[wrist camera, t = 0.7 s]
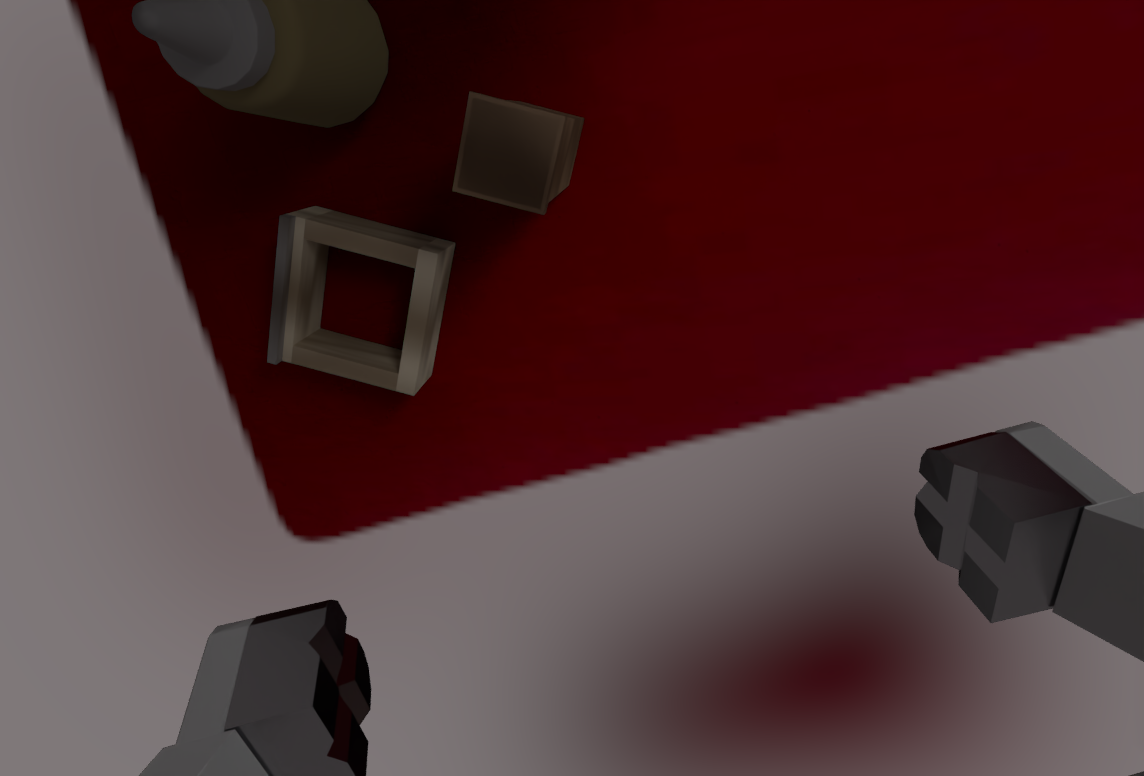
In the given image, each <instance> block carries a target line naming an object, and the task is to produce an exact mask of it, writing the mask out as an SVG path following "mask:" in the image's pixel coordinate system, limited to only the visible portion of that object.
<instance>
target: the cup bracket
mask: <svg viewBox="0 0 1144 776" xmlns="http://www.w3.org/2000/svg"><path fill="white" fill-rule="evenodd" d="M329 246H333V247H337V248H340V249H344V250H348V251H352V252H356V253H359V254H363V255H367V256H371V257H374V258H378V259H382V260H386V261H390V262H393V263H397V264H401V265H405V266H408V267H412V268H416V269H415V275H414V281H413V287H412V294H411V300H410V306H409V312H408V318H407V325H406V331H405V337H404V343H403V350H399V349H395V348H392V347H388V346H384V345H380V344H377V343H373V342H369V341H365V340H362V339H358V338H354V337H350V336H347V335H343V334H339V333H335V332H332V331H328V330H324V329H320V322H321V314H322V305H323V296H324V287H325V278H326V270H327V261H328V252H329ZM454 248H455V243H454V242H450V241H446V240H443V239H439V238H435V237H431V236H427V235H424V234H420V233H416V232H412V231H409V230H405V229H401V228H397V227H393V226H390V225H386V224H382V223H378V222H375V221H371V220H367V219H363V218H359V217H356V216H352V215H348V214H344V213H340V212H337V211H333V210H329V209H325V208H322V207H318V206H313V207H309V208H306V209H302V210H299V211H295V212H291V213H288V214H284V215H280V217H279V229H278V241H277V252H276V264H275V275H274V287H273V299H272V310H271V322H270V333H269V345H268V357H267V362H268V363H272V364H278V363H279V362H281V361H286V362H290V363H293V364H297V365H301V366H305V367H308V368H312V369H316V370H319V371H323V372H327V373H331V374H334V375H338V376H342V377H346V378H349V379H353V380H357V381H361V382H364V383H368V384H372V385H376V386H379V387H383V388H387V389H391V390H394V391H398V392H402V393H406V394H409V395H413V396H414V395H415V394H416V393H417V391H418V390H419V389H420V388H421V387H422V386H423V384H424V383H425V382H426V381H427V380H428V378H429V377H430V376H431V375H432V370H433V365H434V359H435V353H436V348H437V342H438V337H439V331H440V326H441V320H442V314H443V309H444V303H445V298H446V292H447V287H448V281H449V276H450V270H451V264H452V259H453V253H454Z"/></svg>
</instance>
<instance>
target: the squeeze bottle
mask: <svg viewBox="0 0 1144 776" xmlns="http://www.w3.org/2000/svg"><path fill="white" fill-rule="evenodd" d="M132 21H133V23H134V25H135V27H136V29H137V30H138V31H139V32H140V33H142V34H143V35H145V36H147V37H149V38H151V39H153V40H155V41H157V42H158V45H159V47H160V50H161V52H162V55H163V57H164V58H165V59H166V61H167V62H168V63H169V64H170V65H171V67H172V68H173V69H174V70H175V72H176V73H177V74H178V75H179V76H181V77H182V78H184V79H186V80H187V81H189V82H191V83H192V84H194V85H195V86H197V88H198V89H199V90H200V91H201V93H202V94H204V95H205V96H207V97H209V98H210V99H212V100H214V101H215V102H217V103H218V104H220V105H222V106H223V107H225V108H227V109H231V110H236V111H242V112H247V113H252V114H257V115H262V116H267V117H272V118H277V119H282V120H287V121H293V122H298V123H303V124H309V125H315V126H321V127H327V128H329V127H333V126H336V125H340V124H343V123H347V122H351V121H354V120H355V119H356V118H357V117H358V116H359V115H360V114H362V113H363V112H364V111H365V110H366V109H367V108H368V107H369V106H371V105H372V104H373V103H374V101H375V99H376V97H377V95H378V93H379V91H380V89H381V87H382V84H383V82H384V80H385V78H386V75H387V73H388V58H389V51H388V48H387V44H386V41H385V38H384V34H383V31H382V28H381V25H380V21H379V18H378V15H377V13H376V12H375V11H374V9H373V8H372V7H371V5H370V4H369V2H368V1H367V0H148V1H142V2H139V3H137V4H136V5H135V6H134V8H133V11H132Z"/></svg>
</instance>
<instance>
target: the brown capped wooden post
mask: <svg viewBox="0 0 1144 776" xmlns="http://www.w3.org/2000/svg"><path fill="white" fill-rule="evenodd" d="M583 122H584V118H582V117H578V116H574V115H570V114H566V113H563V112H559V111H555V110H551V109H547V108H544V107H540V106H536V105H532V104H528V103H524V102H521V101H510V100H502V99H498V98H494V97H491V96H487V95H483V94H479V93H475V92H469V97H468V103H467V109H466V115H465V120H464V126H463V132H462V138H461V143H460V149H459V155H458V161H457V166H456V172H455V178H454V184H453V189H452V191H454V192H458V193H462V194H466V195H470V196H473V197H477V198H481V199H485V200H489V201H492V202H496V203H500V204H504V205H508V206H511V207H515V208H519V209H523V210H527V211H530V212H534V213H538V214H542V215H544V214H545V213H546V210H547V206H548V203H549V202H550V201H551V200H552V199H553V198H555V197H556V196H557V195H558V194H559V193H560V192H562V191H563V190H564V189H565V188H566V187H567V186H569V182H570V178H571V174H572V169H573V165H574V161H575V157H576V152H577V148H578V144H579V139H580V135H581V131H582V126H583Z"/></svg>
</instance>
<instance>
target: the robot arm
mask: <svg viewBox="0 0 1144 776" xmlns="http://www.w3.org/2000/svg"><path fill="white" fill-rule="evenodd" d="M919 472H920V473H921V474H922V476H923V477H924V478H925V479H926V480H927V481H928V482H927V483H926V484H925V485H924V487H923V488H922V489H921V490H920V492H919V493H918V494H917V495H916V501H915V513H914V515H915V518H916V522H917V526H918V530H919V533H920V535H921V537H922V538H923V540H924V542H925V544H926V546H927V548H928V549H929V550H930V551H931V553H932V554H933V555H934V556H935V558H936V559H937V560H938V561H940V562H942V563H945V564H947V565H949V566H951V567H953V568H956V569H958V570H959V586H960V587H961V589H962V590H963V591H964V592H965V593H966V594H967V596H968V597H969V598H970V599H971V600H972V602H973V603H974V604H975V605H976V606H977V607H978V609H979V610H980V611H981V612H982V613H983V614H984V616H985V617H986V618H987V619H988V620H989V621H990V623H994V622H998V621H1002V620H1006V619H1010V618H1015V617H1019V616H1023V615H1027V614H1031V613H1035V612H1039V611H1044V610H1048V609H1052V608H1053V612H1054V613H1056V614H1058V615H1059V616H1061V617H1063V618H1065V619H1067V620H1068V621H1070V622H1072V623H1074V624H1076V625H1077V626H1079V627H1081V628H1083V629H1085V630H1087V631H1089V632H1090V633H1092V634H1094V635H1096V636H1098V637H1099V638H1101V639H1103V640H1105V641H1107V642H1109V643H1110V644H1112V645H1114V646H1116V647H1118V648H1120V649H1121V650H1123V651H1125V652H1127V653H1129V654H1130V655H1132V656H1134V657H1136V658H1138V659H1140V660H1142V661H1143V662H1144V492H1141V493H1137V494H1133V493H1131V492H1130V491H1129V490H1128V489H1126V488H1125V487H1124V486H1122V485H1121V484H1120V483H1119V482H1117V481H1116V480H1115V479H1113V478H1112V477H1111V476H1109V475H1108V474H1107V473H1106V472H1104V471H1103V470H1102V469H1100V468H1099V467H1098V466H1096V465H1095V464H1094V463H1093V462H1091V461H1090V460H1089V459H1087V458H1086V457H1085V456H1083V455H1082V454H1081V453H1080V452H1078V451H1077V450H1076V449H1074V448H1073V447H1072V446H1070V445H1069V444H1068V443H1067V442H1065V441H1064V440H1063V439H1061V438H1060V437H1059V436H1057V435H1056V434H1055V433H1054V432H1052V431H1051V430H1050V429H1048V428H1047V427H1045V426H1044V425H1042V424H1039V423H1036V422H1032V421H1031V422H1028V423H1024V424H1020V425H1016V426H1013V427H1009V428H1005V429H1001V430H997V431H996V432H990V433H986V434H983V435H979V436H975V437H971V438H967V439H963V440H960V441H956V442H952V443H948V444H945V445H941V446H937V447H933V448H929V449H927V450H926V451H925V453H924V454H923V456H922V457H921V463H920V469H919ZM346 620H347V617H346V615H345V613H344V611H343V610H342V608H341V606H340V604H339V602H338V601H336V600H327V601H323V602H319V603H314V604H310V605H305V606H301V607H296V608H292V609H288V610H283V611H279V612H274V613H270V614H266V615H261V616H257V617H256V618H252V619H248V620H243V621H239V622H234V623H229V624H225V625H220V626H217V627H216V628H215V630H214V631H213V632H212V633H211V634H210V636H209V638H208V640H207V644H206V647H205V650H204V653H203V657H202V660H201V663H200V667H199V670H198V673H197V676H196V680H195V683H194V686H193V689H192V693H191V696H190V699H189V702H188V706H187V709H186V712H185V716H184V719H183V722H182V725H181V729H180V732H179V735H178V739H177V742H176V744H175V745H172V746H168V747H165V748H163V749H162V750H161V751H160V752H159V753H158V754H157V756H156V757H155V758H154V759H153V760H152V761H151V762H150V763H149V765H148V766H147V767H146V768H145V769H144V770H143V771H142V773H141V774H140V775H139V776H366V768H367V753H368V752H367V751H368V740H367V738H366V737H365V735H364V733H363V731H362V729H361V727H360V724H361V723H362V721H363V720H364V718H365V716H366V715H367V714H368V712H369V711H370V705H371V684H370V676H369V667H368V663H367V660H366V657H365V653H364V650H363V649H362V646H361V644H360V642H359V640H358V639H357V638H355V637H353V636H351V635H348V634H346V633H345V630H346ZM1130 776H1144V772H1140V773H1137V774H1134V775H1130Z"/></svg>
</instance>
